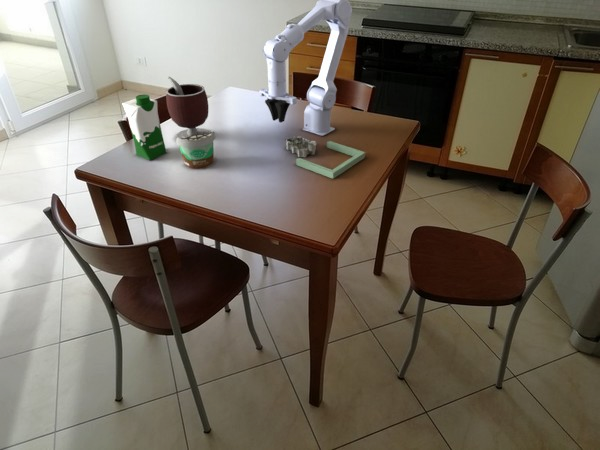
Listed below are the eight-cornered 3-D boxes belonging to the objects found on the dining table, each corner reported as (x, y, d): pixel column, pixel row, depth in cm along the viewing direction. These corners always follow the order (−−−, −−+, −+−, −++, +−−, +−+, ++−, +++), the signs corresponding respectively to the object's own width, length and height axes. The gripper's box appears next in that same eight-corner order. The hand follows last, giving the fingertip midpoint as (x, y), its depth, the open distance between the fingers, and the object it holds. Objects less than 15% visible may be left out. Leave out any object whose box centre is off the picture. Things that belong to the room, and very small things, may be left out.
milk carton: (149, 162, 138) (135, 102, 126) (132, 155, 142) (116, 96, 130) (170, 152, 143) (158, 94, 132) (153, 146, 148) (140, 88, 136)
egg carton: (318, 154, 142) (318, 142, 139) (299, 159, 139) (299, 148, 136) (301, 142, 149) (301, 131, 147) (283, 147, 146) (283, 136, 144)
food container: (185, 174, 131) (179, 144, 125) (180, 166, 135) (174, 136, 130) (223, 165, 136) (219, 136, 130) (217, 157, 140) (213, 129, 134)
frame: (296, 165, 135) (296, 159, 134) (329, 146, 147) (329, 140, 145) (333, 178, 128) (333, 173, 127) (364, 157, 139) (365, 152, 138)
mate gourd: (220, 135, 155) (213, 80, 143) (190, 148, 146) (180, 90, 135) (193, 125, 163) (184, 72, 151) (163, 136, 154) (151, 81, 143)
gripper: (252, 79, 137) (255, 119, 145) (286, 87, 130) (287, 129, 138) (266, 74, 142) (269, 113, 150) (300, 82, 134) (300, 122, 142)
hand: (278, 120), depth 144 cm, fingers closed
